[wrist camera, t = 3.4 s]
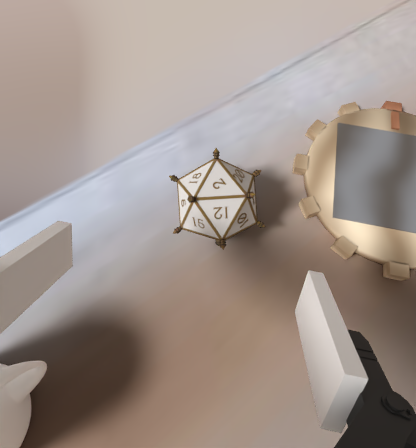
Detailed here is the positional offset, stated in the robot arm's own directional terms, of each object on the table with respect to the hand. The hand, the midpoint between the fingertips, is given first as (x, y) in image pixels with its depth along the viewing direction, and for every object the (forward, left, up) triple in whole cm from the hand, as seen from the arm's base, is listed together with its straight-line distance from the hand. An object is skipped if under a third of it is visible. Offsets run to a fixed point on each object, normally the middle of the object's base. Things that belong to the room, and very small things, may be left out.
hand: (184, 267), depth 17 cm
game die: (-1, -9, -13) cm, 15 cm away
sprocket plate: (-19, -17, -13) cm, 28 cm away
